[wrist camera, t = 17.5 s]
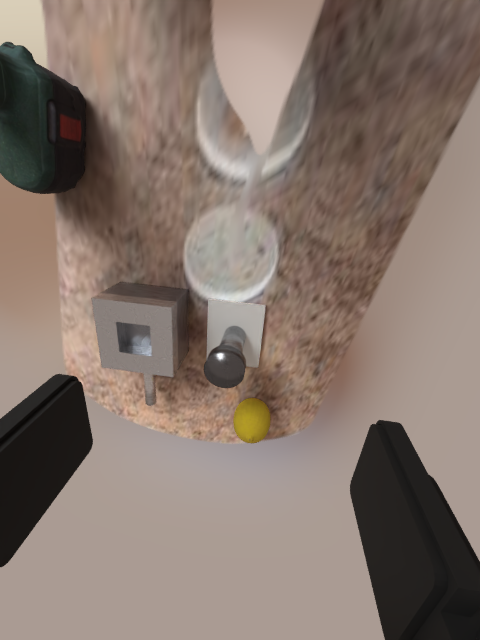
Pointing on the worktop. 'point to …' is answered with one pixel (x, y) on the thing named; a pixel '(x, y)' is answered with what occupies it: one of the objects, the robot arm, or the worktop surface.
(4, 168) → the power drill
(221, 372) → the dark gray knob
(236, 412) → the lemon
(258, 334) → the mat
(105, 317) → the block
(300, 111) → the worktop surface
